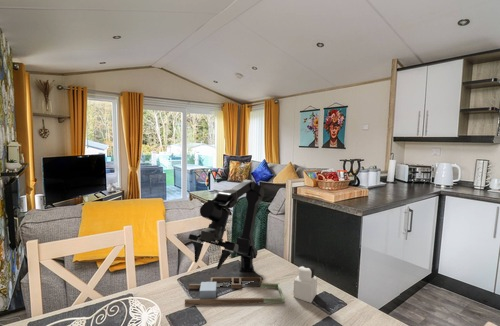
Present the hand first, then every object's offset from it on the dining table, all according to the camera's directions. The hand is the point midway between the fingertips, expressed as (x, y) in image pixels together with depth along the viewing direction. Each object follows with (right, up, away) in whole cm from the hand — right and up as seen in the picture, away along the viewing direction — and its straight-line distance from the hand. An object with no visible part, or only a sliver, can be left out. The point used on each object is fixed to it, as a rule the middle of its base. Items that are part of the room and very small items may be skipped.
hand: (206, 265), depth 95 cm
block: (0, -14, +6) cm, 15 cm away
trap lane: (+10, -14, +9) cm, 19 cm away
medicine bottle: (+38, -15, +8) cm, 41 cm away
